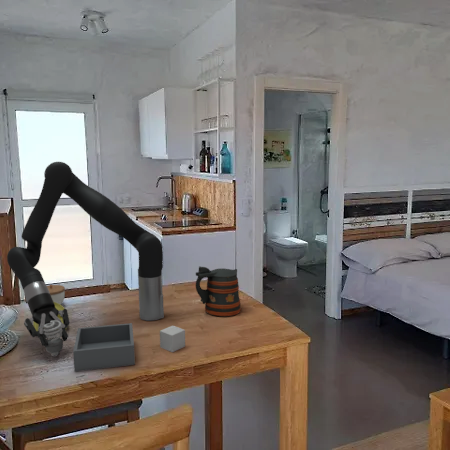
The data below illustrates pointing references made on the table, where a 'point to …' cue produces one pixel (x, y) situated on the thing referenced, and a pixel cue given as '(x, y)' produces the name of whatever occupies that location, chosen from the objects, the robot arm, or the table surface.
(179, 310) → the table surface
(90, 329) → the bin
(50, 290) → the lidded jar
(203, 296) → the beer stein
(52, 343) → the light bulb
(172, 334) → the light grey cube
